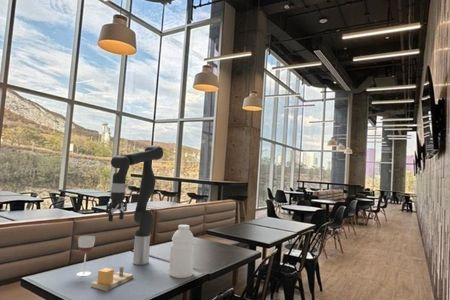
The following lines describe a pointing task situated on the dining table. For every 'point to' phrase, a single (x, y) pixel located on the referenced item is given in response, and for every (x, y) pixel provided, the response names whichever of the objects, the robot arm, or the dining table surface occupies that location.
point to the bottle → (182, 253)
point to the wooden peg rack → (114, 280)
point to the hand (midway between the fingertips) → (115, 220)
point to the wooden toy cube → (105, 275)
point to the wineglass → (85, 250)
